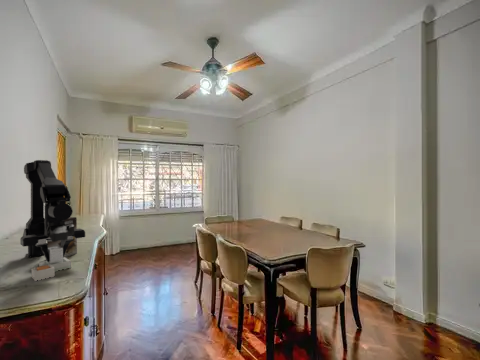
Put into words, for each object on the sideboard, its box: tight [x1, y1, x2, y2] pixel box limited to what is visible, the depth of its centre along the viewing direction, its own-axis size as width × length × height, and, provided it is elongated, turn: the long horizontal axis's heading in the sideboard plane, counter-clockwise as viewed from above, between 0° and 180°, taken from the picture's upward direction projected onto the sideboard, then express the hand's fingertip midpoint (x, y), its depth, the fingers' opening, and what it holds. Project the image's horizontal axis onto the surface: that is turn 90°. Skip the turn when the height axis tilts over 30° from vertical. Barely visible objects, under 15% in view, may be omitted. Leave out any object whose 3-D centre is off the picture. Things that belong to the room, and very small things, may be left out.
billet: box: [47, 246, 63, 265], centre depth 96 cm, size 4×4×6 cm
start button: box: [36, 265, 49, 271], centre depth 87 cm, size 3×3×2 cm
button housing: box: [31, 264, 56, 282], centre depth 87 cm, size 5×5×3 cm
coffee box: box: [46, 216, 78, 258], centre depth 111 cm, size 9×6×16 cm
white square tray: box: [38, 257, 72, 272], centre depth 96 cm, size 8×8×2 cm
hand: (55, 260), depth 96 cm, fingers closed on billet, 4 cm apart
